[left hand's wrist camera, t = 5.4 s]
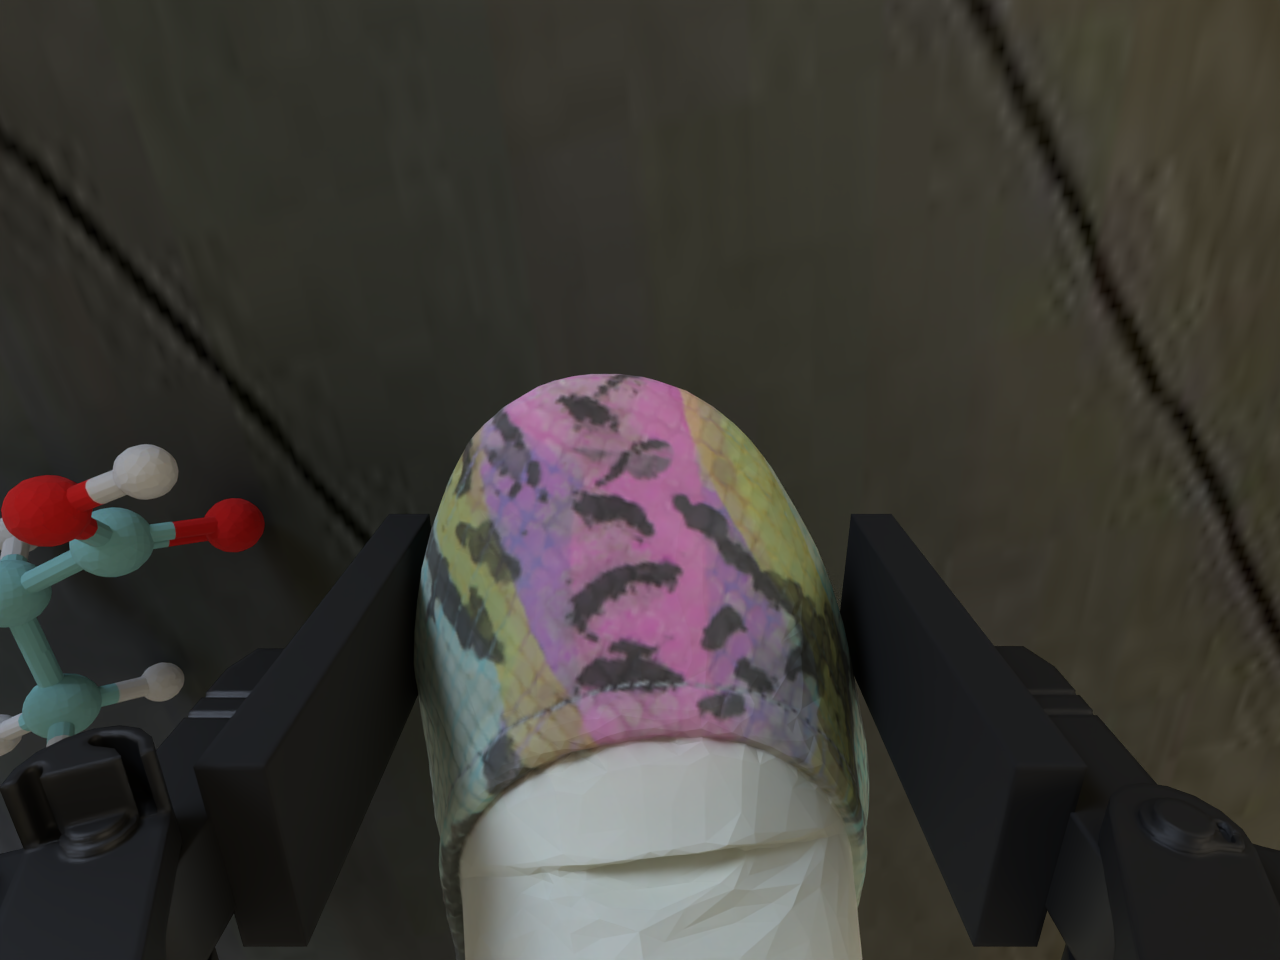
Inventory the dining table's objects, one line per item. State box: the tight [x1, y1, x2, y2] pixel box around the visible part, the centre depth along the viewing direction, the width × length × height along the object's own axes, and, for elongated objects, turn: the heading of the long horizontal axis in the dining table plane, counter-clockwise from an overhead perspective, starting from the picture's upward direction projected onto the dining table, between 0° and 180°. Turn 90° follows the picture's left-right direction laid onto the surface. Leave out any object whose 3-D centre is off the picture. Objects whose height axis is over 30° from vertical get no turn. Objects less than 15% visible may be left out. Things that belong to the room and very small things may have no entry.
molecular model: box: [0, 444, 265, 756], centre depth 19 cm, size 12×10×10 cm
